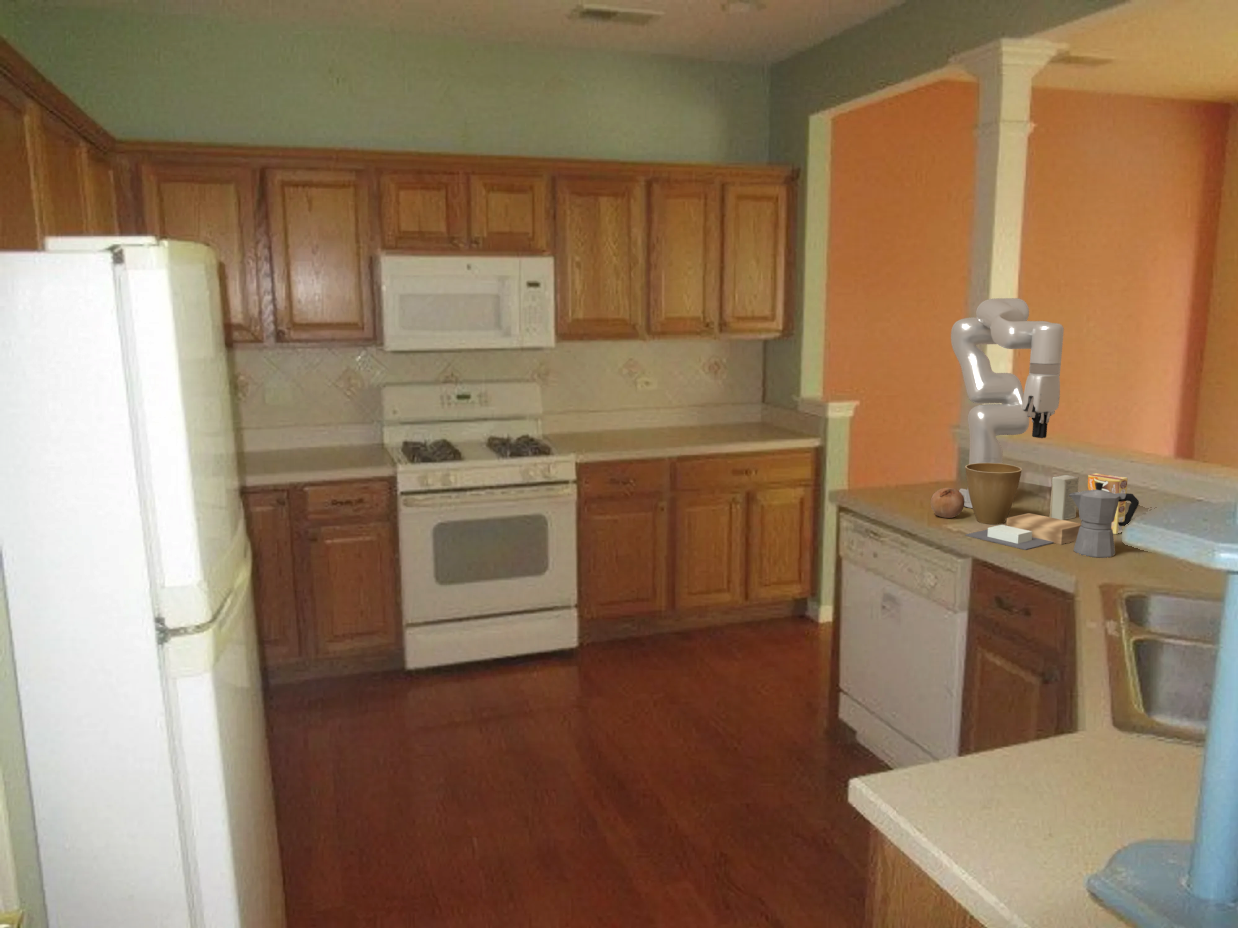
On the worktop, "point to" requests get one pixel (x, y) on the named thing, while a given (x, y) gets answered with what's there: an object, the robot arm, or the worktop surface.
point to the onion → (947, 502)
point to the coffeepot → (1099, 520)
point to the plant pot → (992, 490)
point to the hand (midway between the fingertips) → (1039, 437)
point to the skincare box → (1063, 497)
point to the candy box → (1113, 486)
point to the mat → (1025, 545)
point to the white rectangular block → (1009, 534)
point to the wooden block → (1046, 527)
